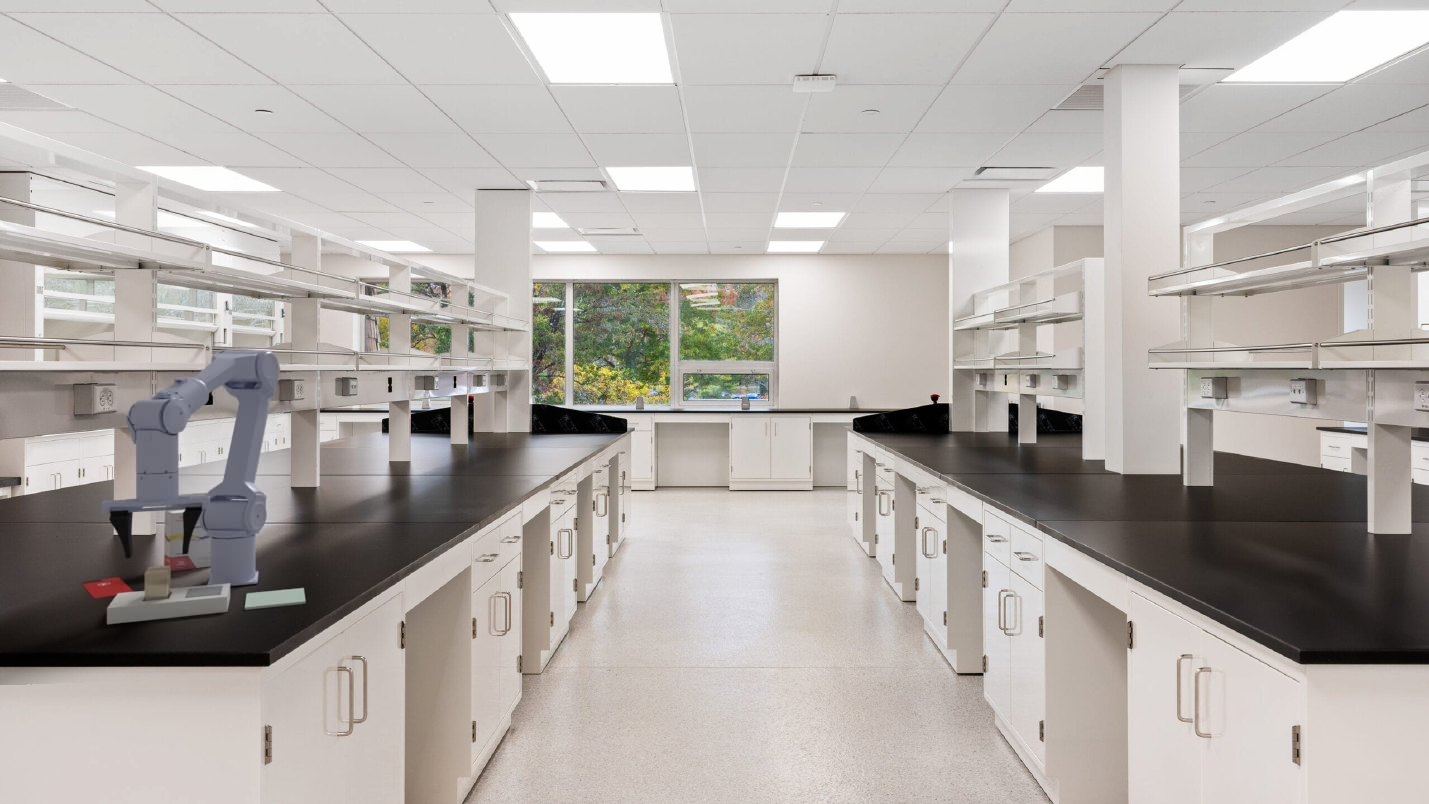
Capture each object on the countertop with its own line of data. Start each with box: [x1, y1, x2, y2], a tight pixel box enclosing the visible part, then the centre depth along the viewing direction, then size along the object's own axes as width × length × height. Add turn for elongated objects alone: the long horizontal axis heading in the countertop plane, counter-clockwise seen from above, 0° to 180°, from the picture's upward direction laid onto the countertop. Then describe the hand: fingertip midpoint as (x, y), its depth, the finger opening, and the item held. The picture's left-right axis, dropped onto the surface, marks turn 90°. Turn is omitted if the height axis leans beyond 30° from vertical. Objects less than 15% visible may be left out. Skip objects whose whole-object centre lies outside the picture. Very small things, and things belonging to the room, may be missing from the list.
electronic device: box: [80, 576, 135, 599], centre depth 148 cm, size 6×1×15 cm
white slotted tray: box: [106, 583, 231, 625], centre depth 134 cm, size 10×16×3 cm, turn 118°
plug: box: [144, 565, 171, 601], centre depth 133 cm, size 4×3×7 cm, turn 28°
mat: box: [244, 587, 306, 611], centre depth 141 cm, size 10×9×1 cm
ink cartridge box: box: [163, 492, 211, 572], centre depth 165 cm, size 9×5×15 cm, turn 137°
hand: (157, 555), depth 133 cm, fingers open, 7 cm apart
